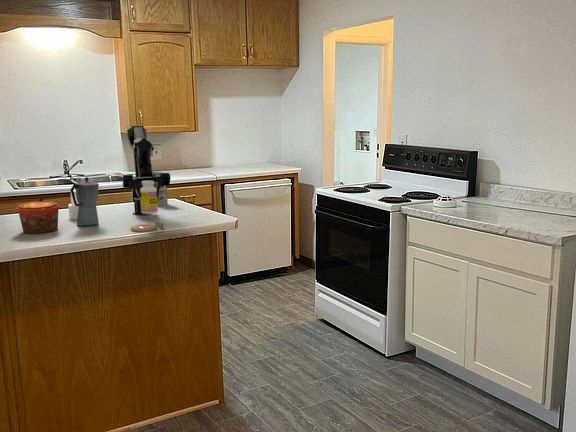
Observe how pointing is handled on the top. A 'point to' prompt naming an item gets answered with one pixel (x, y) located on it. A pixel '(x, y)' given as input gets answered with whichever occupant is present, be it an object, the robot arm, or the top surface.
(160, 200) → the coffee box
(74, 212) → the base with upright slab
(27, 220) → the food container
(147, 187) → the supplement bottle
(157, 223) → the low wall
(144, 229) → the coaster
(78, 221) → the moka pot
